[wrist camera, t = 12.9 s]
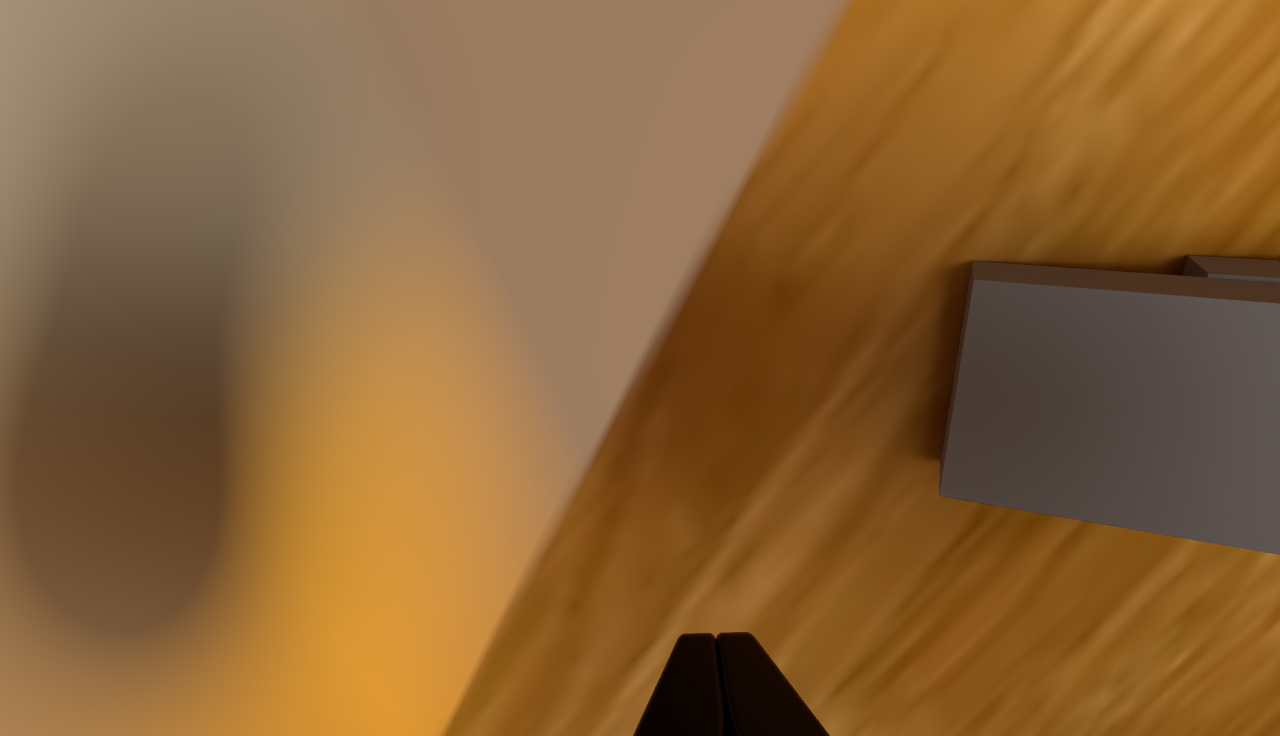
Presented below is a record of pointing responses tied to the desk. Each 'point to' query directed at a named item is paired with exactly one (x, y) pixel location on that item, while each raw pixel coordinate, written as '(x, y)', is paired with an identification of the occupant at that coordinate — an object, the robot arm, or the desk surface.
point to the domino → (1120, 401)
